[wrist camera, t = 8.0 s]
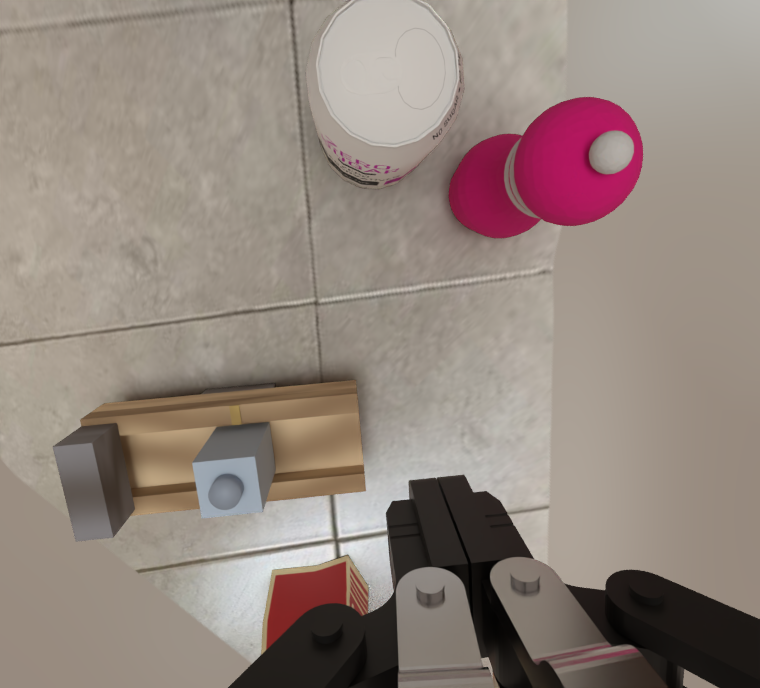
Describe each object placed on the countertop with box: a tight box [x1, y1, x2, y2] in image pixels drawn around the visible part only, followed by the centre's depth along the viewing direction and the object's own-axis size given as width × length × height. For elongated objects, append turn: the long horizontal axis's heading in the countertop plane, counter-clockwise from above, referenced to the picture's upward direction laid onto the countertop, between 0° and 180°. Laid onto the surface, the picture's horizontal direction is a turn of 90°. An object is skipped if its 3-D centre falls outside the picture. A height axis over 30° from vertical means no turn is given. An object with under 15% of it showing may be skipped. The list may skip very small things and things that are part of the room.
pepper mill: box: [449, 97, 643, 238], centre depth 30 cm, size 7×7×20 cm
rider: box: [192, 422, 276, 518], centre depth 34 cm, size 4×4×7 cm
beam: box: [53, 380, 366, 541], centre depth 37 cm, size 8×20×10 cm, turn 94°
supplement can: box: [305, 0, 464, 189], centre depth 31 cm, size 8×8×15 cm
